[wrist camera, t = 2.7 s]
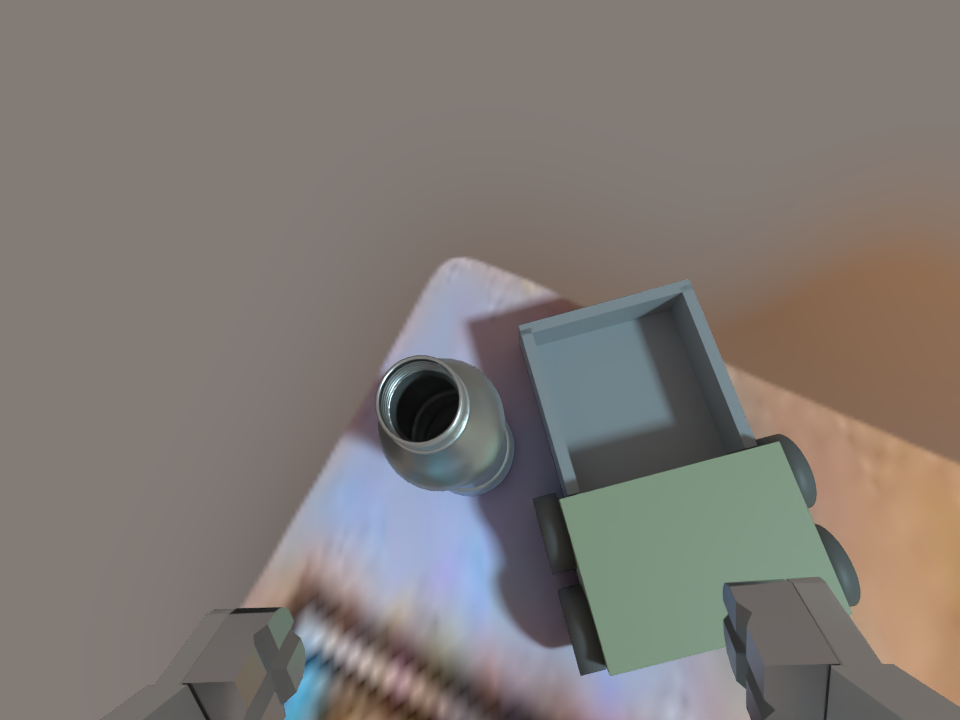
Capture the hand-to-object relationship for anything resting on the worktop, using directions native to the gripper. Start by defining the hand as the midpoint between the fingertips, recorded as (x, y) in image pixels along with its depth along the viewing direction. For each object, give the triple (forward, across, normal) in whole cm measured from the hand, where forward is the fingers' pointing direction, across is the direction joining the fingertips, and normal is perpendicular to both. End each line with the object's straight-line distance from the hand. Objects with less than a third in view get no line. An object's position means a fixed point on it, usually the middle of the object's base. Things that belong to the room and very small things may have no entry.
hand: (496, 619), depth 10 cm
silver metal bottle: (+27, +6, +12) cm, 30 cm away
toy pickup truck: (+27, -7, +15) cm, 31 cm away
